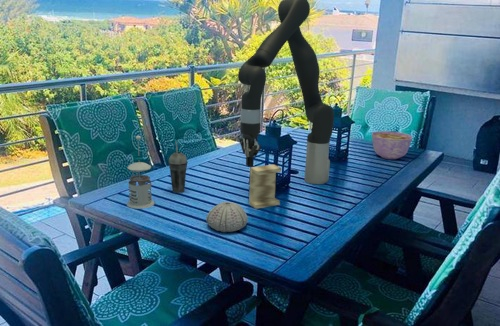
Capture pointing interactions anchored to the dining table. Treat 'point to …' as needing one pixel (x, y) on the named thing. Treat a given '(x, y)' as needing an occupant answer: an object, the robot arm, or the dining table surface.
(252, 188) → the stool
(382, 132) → the bowl of food
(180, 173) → the beverage cup
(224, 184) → the dining table surface
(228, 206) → the sea urchin shell
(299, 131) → the dining table surface
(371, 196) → the dining table surface
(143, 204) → the french press
